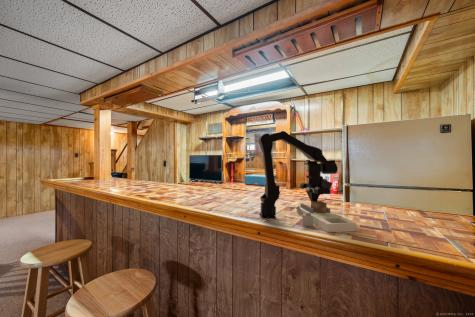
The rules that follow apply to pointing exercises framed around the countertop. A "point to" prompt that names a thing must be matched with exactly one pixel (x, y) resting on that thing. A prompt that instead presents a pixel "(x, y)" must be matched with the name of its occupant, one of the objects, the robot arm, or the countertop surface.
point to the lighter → (305, 217)
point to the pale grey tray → (329, 220)
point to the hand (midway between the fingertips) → (314, 205)
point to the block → (319, 206)
